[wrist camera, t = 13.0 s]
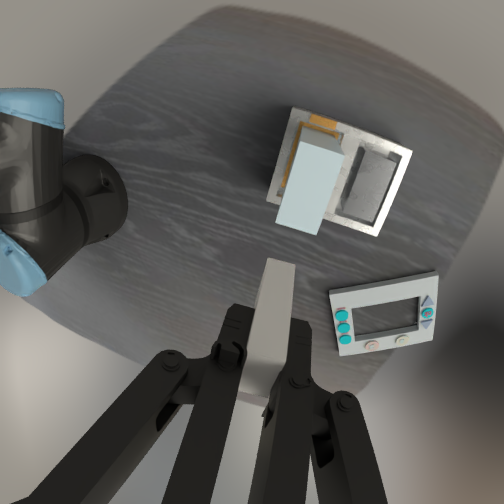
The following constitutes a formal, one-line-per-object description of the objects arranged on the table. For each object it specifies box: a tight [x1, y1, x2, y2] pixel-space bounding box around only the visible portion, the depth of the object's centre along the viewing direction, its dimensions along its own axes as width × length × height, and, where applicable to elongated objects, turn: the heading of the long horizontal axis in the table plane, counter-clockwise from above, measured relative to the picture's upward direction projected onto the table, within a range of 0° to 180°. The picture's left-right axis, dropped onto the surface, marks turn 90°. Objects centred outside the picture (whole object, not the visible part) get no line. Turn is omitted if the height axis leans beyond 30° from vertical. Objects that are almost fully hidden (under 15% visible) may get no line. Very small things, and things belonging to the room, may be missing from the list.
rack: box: [266, 106, 413, 236], centre depth 36 cm, size 15×12×6 cm
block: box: [275, 126, 345, 235], centre depth 32 cm, size 4×8×12 cm, turn 167°
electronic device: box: [329, 271, 438, 356], centre depth 49 cm, size 18×2×15 cm
